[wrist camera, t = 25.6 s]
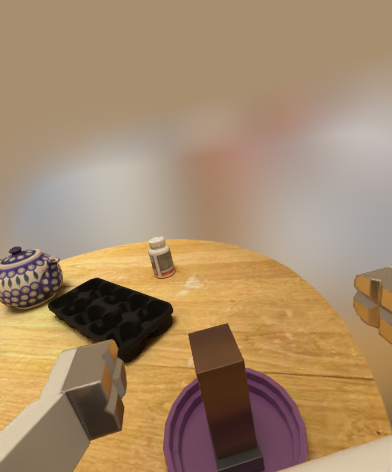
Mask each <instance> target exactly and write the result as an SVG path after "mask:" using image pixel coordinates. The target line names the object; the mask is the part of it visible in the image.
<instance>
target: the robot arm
mask: <svg viewBox="0 0 392 472" xmlns="http://www.w3.org/2000/svg"><path fill="white" fill-rule="evenodd" d="M354 287H355V288H356V289H357V290H358V291H357V293H356V295H355V296H354V308H355V311H356V313H357V315H358V316H359V317H360V319H361V320H362V321H363V322H365V323H366V324H367V325H369V326H372V327H375V328H378V332H379V335H381V336H382V337H383V338H384V339H386V340H387V341H388V342H389V343H390V344H392V265H391V266H387V267H385V268H383V269H379V270H375V271H371V272H367V273H364V274H360V275H356V277H355V279H354ZM117 353H118V347H117V345H116V343H115V341H114V340H113V339H111V340H106V341H102V342H98V343H94V344H90V345H85V346H81V347H78V348H74V349H70V350H66V351H63V352H62V353H60V354H59V356H58V358H57V361H56V363H55V365H54V367H53V369H52V371H51V373H50V376H49V378H48V380H47V382H46V384H45V386H44V388H43V391H42V393H41V395H40V397H39V399H38V400H36V401H33V402H31V403H30V404H29V405H28V406H27V407H26V408H25V409H24V410H23V411H22V412H21V413H20V414H19V415H18V416H17V417H16V418H15V419H14V420H13V421H12V422H10V423H9V424H8V425H7V426H6V427H5V428H4V429H3V430H2V431H1V432H0V472H73V471H74V469H75V468H76V466H77V464H78V463H79V461H80V459H81V458H82V456H83V454H84V453H85V451H86V449H87V448H88V446H89V444H90V441H91V440H94V439H97V438H100V437H103V436H106V435H109V434H113V433H116V432H119V431H122V423H123V414H124V405H123V402H122V400H121V399H122V398H123V396H124V395H125V393H126V387H127V379H126V371H125V366H124V363H123V361H122V360H121V359H120V358H118V357H117ZM277 472H392V434H391V435H388V436H385V437H382V438H378V439H375V440H372V441H369V442H366V443H363V444H360V445H357V446H354V447H351V448H348V449H344V450H341V451H338V452H335V453H332V454H329V455H326V456H323V457H320V458H317V459H314V460H311V461H307V462H304V463H301V464H298V465H295V466H292V467H289V468H286V469H283V470H280V471H277Z"/></svg>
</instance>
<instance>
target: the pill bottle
mask: <svg viewBox="0 0 392 472" xmlns="http://www.w3.org/2000/svg"><path fill="white" fill-rule="evenodd" d="M149 245H150V247H151V248H150V249H149V256H150V260H151V263H152V267H153V271H154V274H155V276H156V277H157V278H166V277H169V276H171V275H172V274H173V273H174V272H175V269H174V265H173V261H172V257H171V252H170V248H169V246H168V245H166V244H165V239H164V237H156V238H152V239H151V240H149Z"/></svg>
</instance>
